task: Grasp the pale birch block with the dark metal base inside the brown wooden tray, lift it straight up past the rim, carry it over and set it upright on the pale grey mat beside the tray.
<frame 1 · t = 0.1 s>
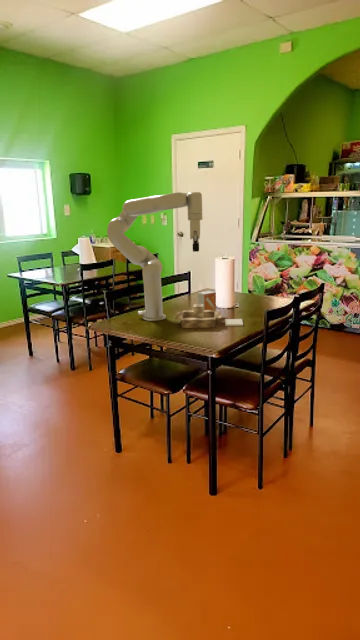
hand: (196, 250, 229), 37 cm above the table, tool pointing down, fingers open, 9 cm apart
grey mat: (233, 323, 225), on the table
brown wooden tray: (198, 323, 227), on the table
small box: (207, 315, 244), on the table
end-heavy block: (198, 324, 227), resting in brown wooden tray
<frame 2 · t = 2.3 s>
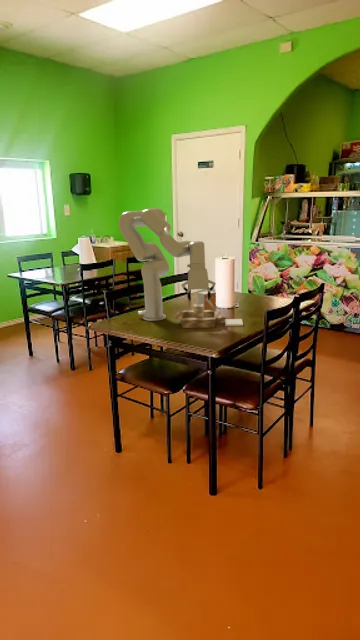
hand: (199, 299, 223), 13 cm above the table, tool pointing down, fingers open, 9 cm apart
nothing on the table moved.
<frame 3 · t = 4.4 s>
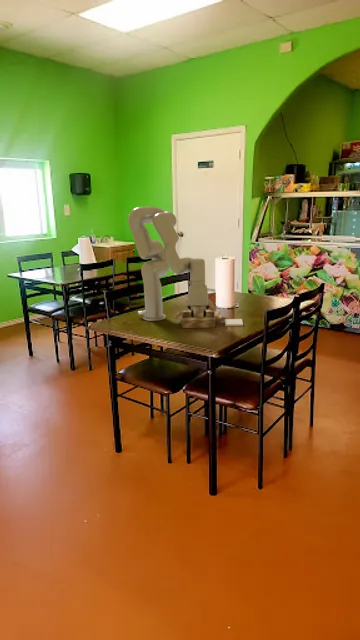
hand: (198, 317, 226), 3 cm above the table, tool pointing down, fingers closed on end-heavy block, 5 cm apart
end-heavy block: (198, 324, 227), resting in brown wooden tray, touching gripper
everything else where it was.
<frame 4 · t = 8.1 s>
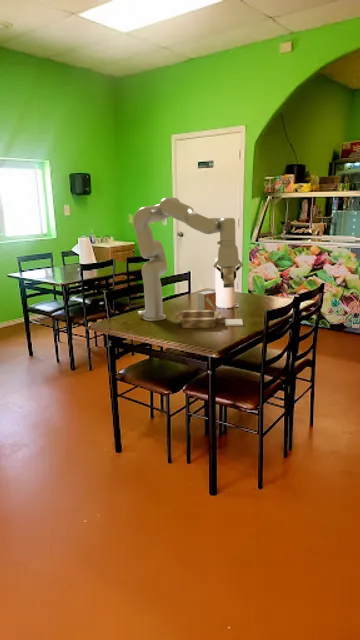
hand: (228, 279, 219), 23 cm above the table, tool pointing down, fingers closed on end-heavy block, 5 cm apart
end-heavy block: (228, 286, 220), point 20 cm above the table, touching gripper
everything else where it was.
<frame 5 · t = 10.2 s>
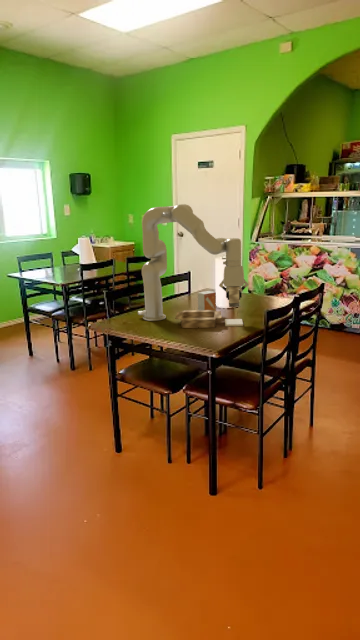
hand: (233, 298, 222), 13 cm above the table, tool pointing down, fingers closed on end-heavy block, 5 cm apart
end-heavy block: (233, 305, 223), point 10 cm above the table, touching gripper
everything else where it was.
when the fingers open (5 cm above the table, at t = 12.0 s): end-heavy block stays where it is, resting on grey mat.
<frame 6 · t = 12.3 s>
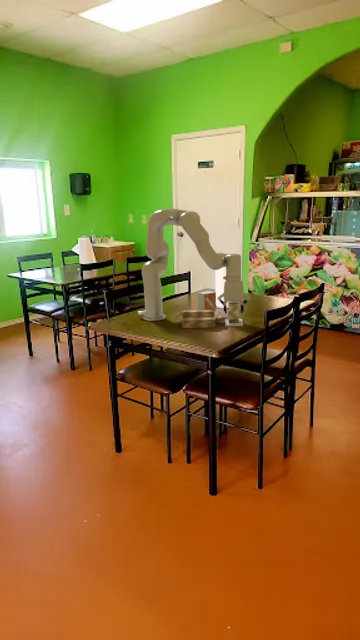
hand: (233, 312, 224), 6 cm above the table, tool pointing down, fingers open, 7 cm apart
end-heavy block: (233, 321, 225), point 1 cm above the table, touching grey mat
everything else where it was.
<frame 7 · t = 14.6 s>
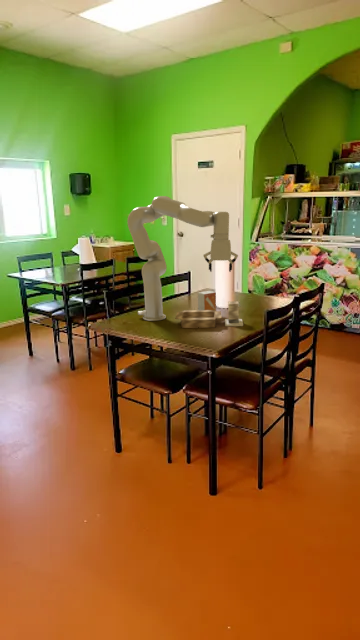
hand: (220, 271, 221), 27 cm above the table, tool pointing down, fingers open, 9 cm apart
nothing on the table moved.
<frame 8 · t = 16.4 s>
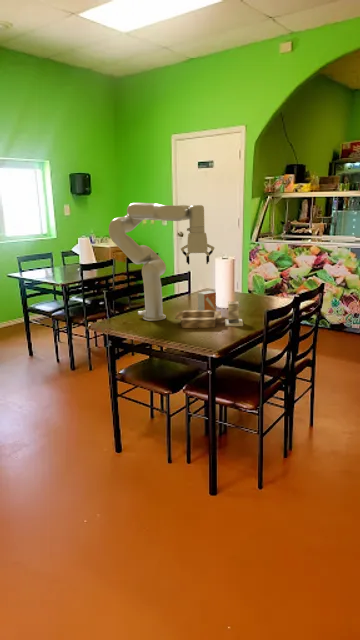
hand: (197, 263, 225), 30 cm above the table, tool pointing down, fingers open, 9 cm apart
nothing on the table moved.
at the end: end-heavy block inside the target area (0.1 cm from its centre), point 1.0 cm above the table; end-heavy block tilted 0°; the gripper is holding nothing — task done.
